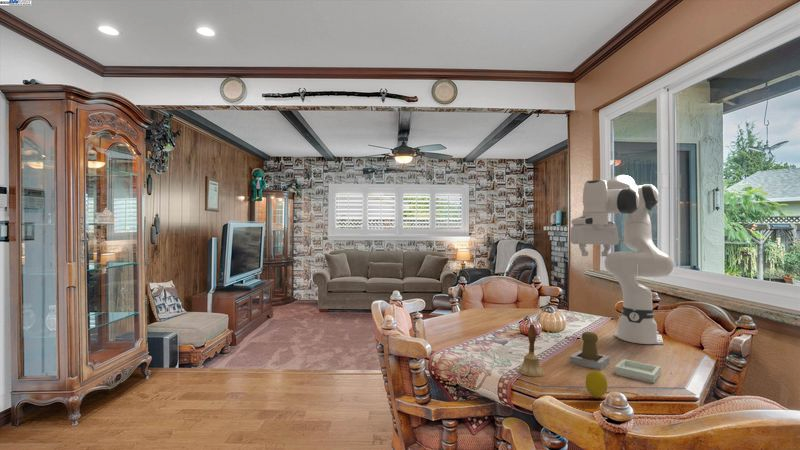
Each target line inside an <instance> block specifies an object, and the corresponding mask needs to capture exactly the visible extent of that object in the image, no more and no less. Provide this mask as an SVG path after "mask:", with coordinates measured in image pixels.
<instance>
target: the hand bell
mask: <svg viewBox="0 0 800 450" xmlns="http://www.w3.org/2000/svg"><path fill="white" fill-rule="evenodd" d="M527 338H528V342H529V343H528V344H529V345H528V347H529V348H528V353H527V354H525V355H524V356H523V357H524V358H523V363H522V365H521V366H520V367H519V368H518V369H517V371H519V372H518V373H519V374H521V373H522V374H521V375H523V374H524V375H523V376H526V375H527V376H528V377H531V376H532V378H540V377H543V376H545V372H544V370H542V368H541V365H540V360H539V357H538V356H537V355H536V354H535V342H536V340H537V330H536V327H535V324H532V323H531V324H530V325H529V328H528V332H527ZM527 376H526V377H527Z"/></svg>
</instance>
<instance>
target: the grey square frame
mask: <svg viewBox="0 0 800 450" xmlns="http://www.w3.org/2000/svg"><path fill="white" fill-rule="evenodd" d="M581 355H582V350H581V349H580V350H578V351H576V352H574V353H572V354H571V355H570V356H569V364H573V365H577V366H580V367H586V368H589V369H593V370H598V371H603V370H604V368H605V367H607V366H608V365H609V364H610V361H611V359H610V355H606V354H605V355H604V354H599V353H598V361H595V360H591V359H586V358H582V357H581Z"/></svg>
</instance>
